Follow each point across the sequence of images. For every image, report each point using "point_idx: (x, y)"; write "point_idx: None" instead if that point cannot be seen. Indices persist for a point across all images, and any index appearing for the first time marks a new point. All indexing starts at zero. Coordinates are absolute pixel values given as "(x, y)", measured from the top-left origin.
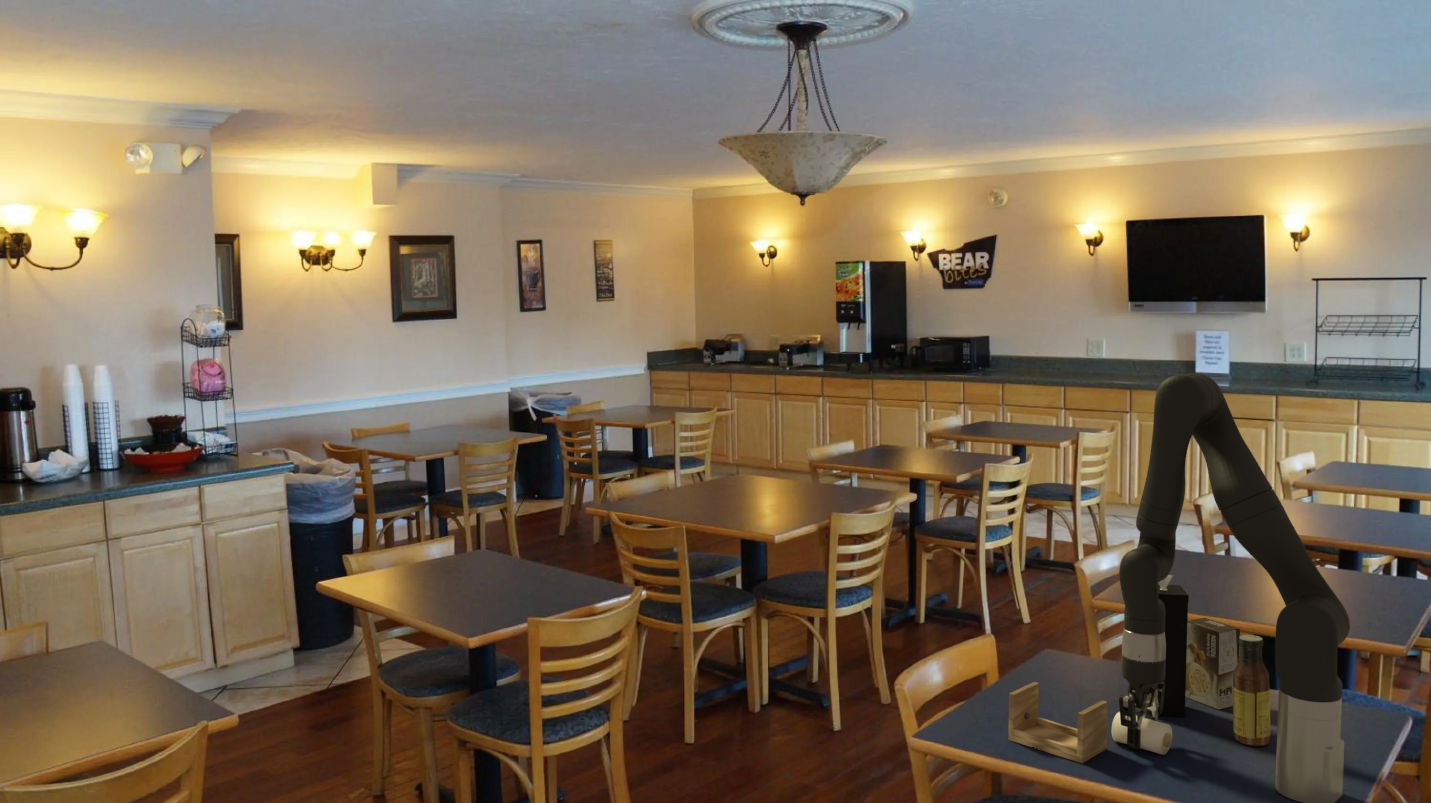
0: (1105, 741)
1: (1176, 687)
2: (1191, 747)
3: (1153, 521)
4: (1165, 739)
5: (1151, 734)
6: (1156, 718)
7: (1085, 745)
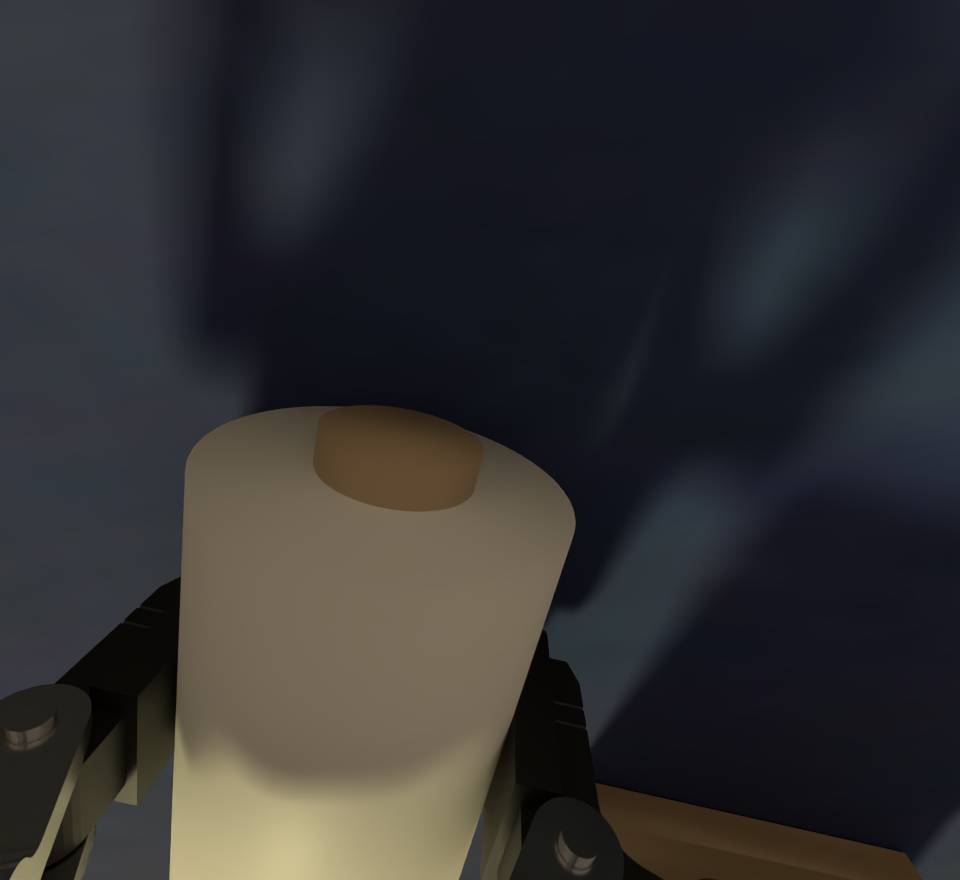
0: None
1: None
2: (113, 234)
3: None
4: (470, 471)
5: (533, 642)
6: (64, 696)
7: None
